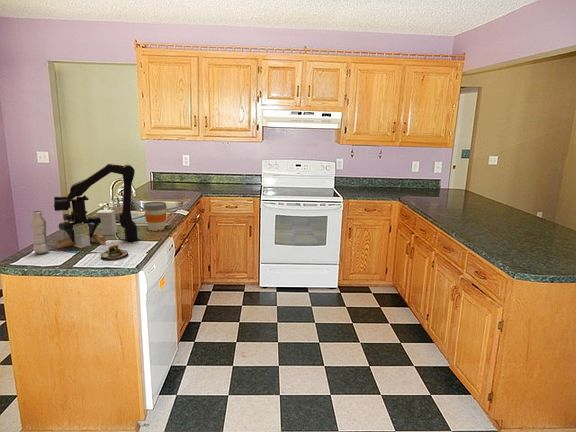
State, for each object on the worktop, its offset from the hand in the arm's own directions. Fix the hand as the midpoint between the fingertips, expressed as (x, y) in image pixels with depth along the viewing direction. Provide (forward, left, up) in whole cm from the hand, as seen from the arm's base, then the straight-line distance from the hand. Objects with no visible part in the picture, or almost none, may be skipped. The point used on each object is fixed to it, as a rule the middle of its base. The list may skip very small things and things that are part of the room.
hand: (82, 239), depth 199 cm
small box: (+9, -19, -3) cm, 22 cm away
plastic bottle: (+4, +18, -3) cm, 18 cm away
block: (0, 0, -3) cm, 3 cm away
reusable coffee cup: (-3, -43, -3) cm, 43 cm away
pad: (0, 0, -3) cm, 3 cm away
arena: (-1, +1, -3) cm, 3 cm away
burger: (-27, +1, -4) cm, 27 cm away
